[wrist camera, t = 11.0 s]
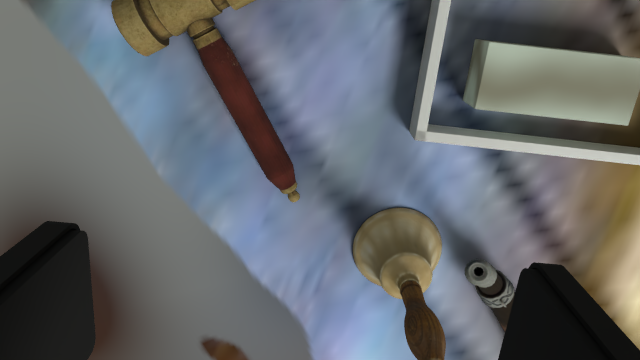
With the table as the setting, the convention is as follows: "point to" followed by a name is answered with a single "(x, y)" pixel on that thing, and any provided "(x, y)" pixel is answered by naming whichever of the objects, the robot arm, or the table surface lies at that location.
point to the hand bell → (404, 270)
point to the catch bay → (482, 137)
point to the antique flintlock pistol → (492, 288)
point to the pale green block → (552, 82)
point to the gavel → (210, 70)
